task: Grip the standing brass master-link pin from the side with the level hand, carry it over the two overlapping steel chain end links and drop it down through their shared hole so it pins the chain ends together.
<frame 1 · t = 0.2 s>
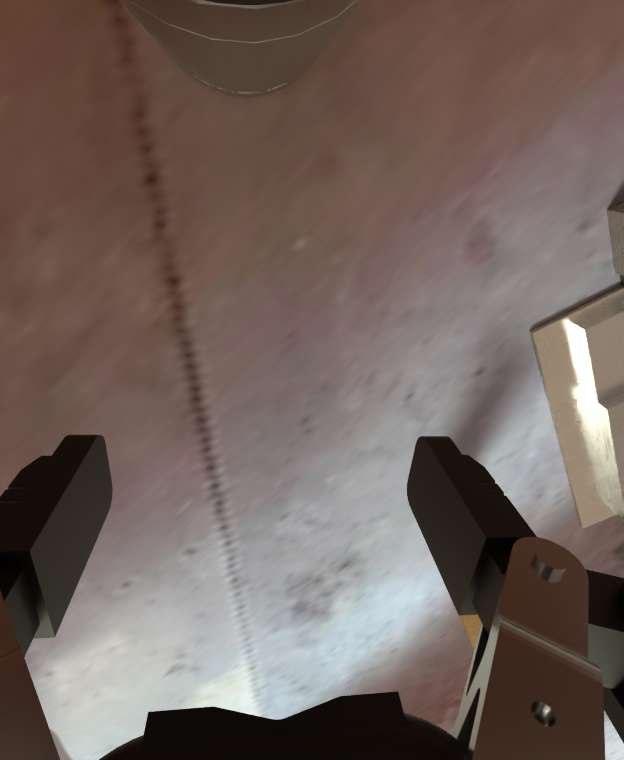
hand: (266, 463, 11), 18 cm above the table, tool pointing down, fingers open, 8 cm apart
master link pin: (433, 501, 38), on the table
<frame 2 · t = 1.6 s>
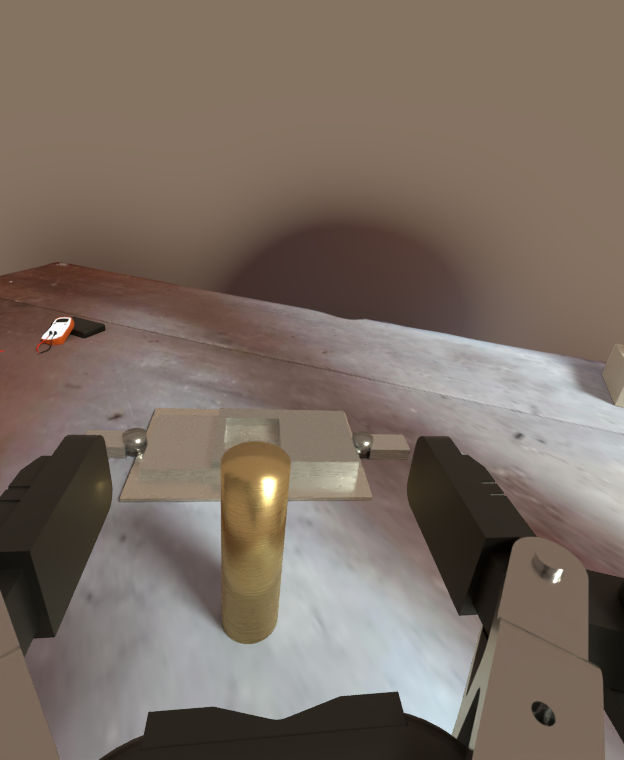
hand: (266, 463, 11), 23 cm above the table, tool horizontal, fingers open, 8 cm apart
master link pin: (250, 616, 31), on the table
multimeter: (54, 348, 69), on the table
chain joint: (252, 450, 49), on the table
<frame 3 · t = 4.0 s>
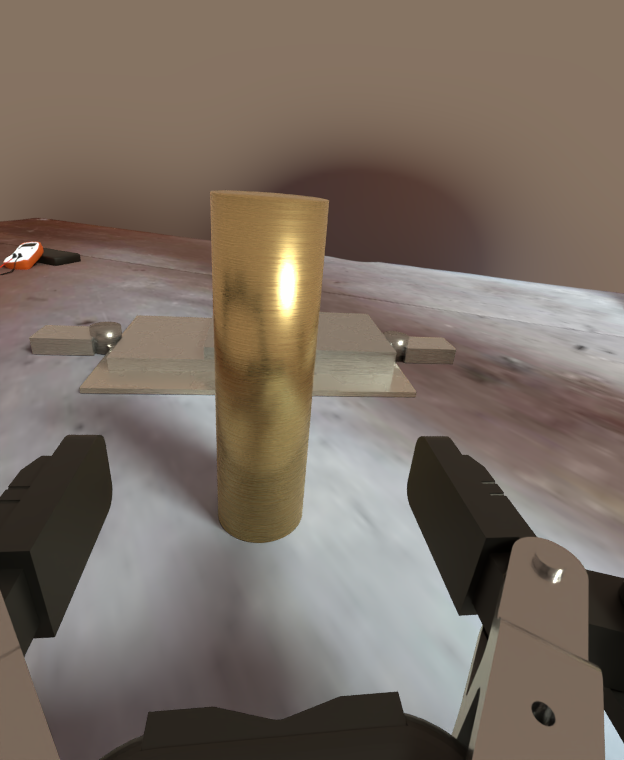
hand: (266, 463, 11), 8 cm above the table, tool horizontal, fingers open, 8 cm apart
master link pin: (260, 510, 21), on the table
multimeter: (19, 274, 59), on the table
chain joint: (256, 352, 38), on the table
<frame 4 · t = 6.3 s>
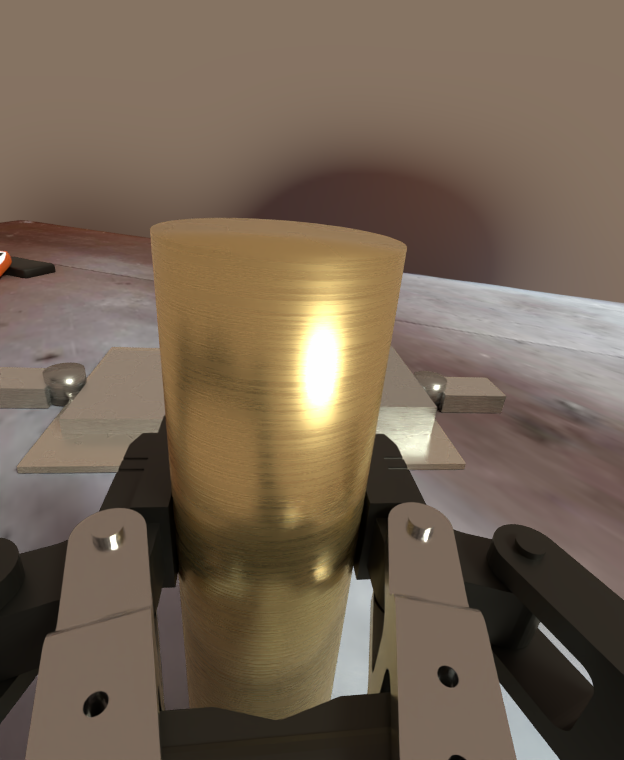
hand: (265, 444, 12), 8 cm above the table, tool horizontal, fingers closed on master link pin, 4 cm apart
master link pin: (260, 715, 13), on the table, touching gripper
chain joint: (256, 399, 31), on the table
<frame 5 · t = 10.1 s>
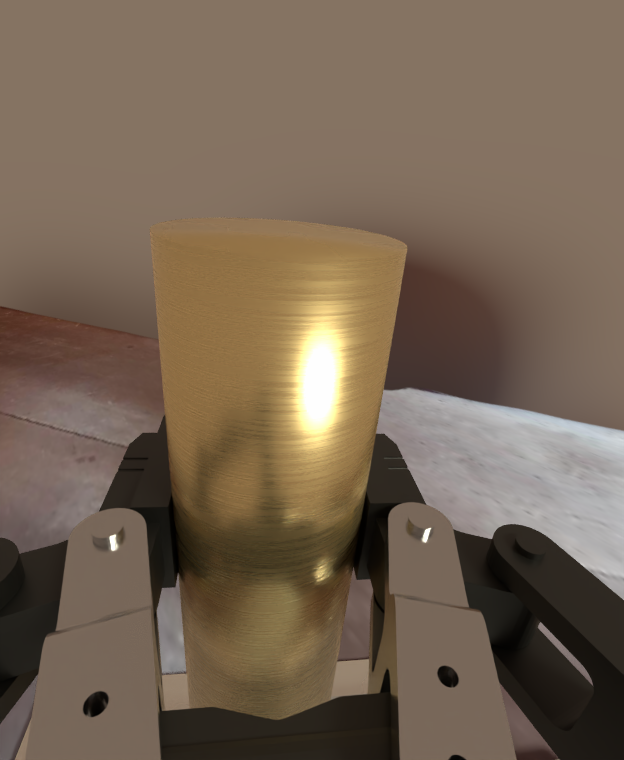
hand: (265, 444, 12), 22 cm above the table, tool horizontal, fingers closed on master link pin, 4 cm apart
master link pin: (260, 715, 13), point 14 cm above the table, touching gripper
when the fingers open (9 cm above the table, at t = 13.8 s): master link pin stays where it is, resting on chain joint.
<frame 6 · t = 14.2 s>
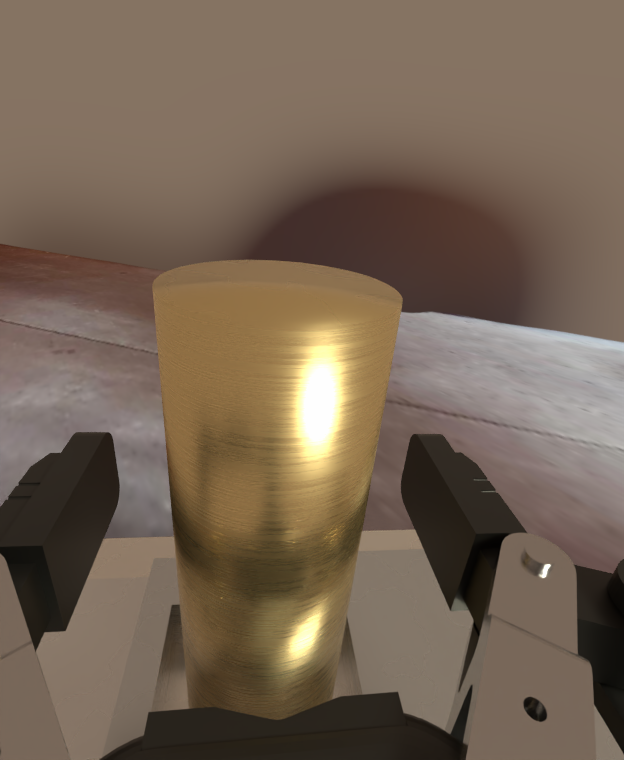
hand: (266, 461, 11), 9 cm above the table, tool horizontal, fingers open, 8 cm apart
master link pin: (259, 733, 13), resting on chain joint
chain joint: (258, 737, 14), on the table
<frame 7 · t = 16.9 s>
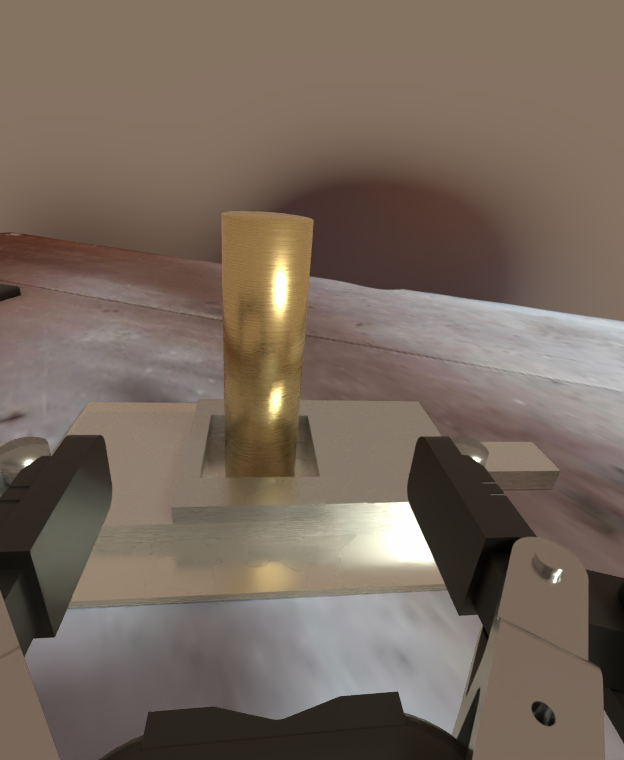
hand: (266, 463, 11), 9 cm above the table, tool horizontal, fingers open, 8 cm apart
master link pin: (260, 472, 25), resting on chain joint
chain joint: (259, 476, 25), on the table
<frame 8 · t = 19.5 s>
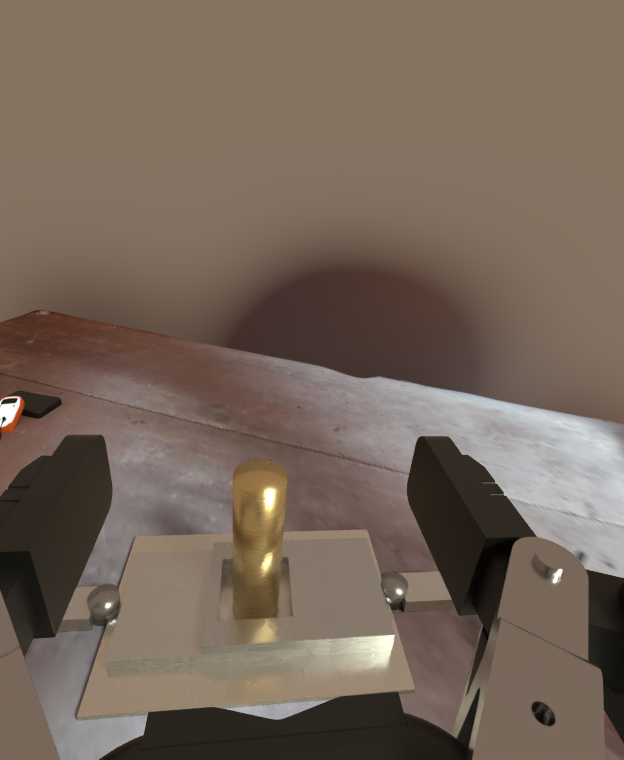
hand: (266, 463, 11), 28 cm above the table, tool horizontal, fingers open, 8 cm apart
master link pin: (255, 602, 38), resting on chain joint
multimeter: (3, 436, 58), on the table
chain joint: (255, 604, 38), on the table
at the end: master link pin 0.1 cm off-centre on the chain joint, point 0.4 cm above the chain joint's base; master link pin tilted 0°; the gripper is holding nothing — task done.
